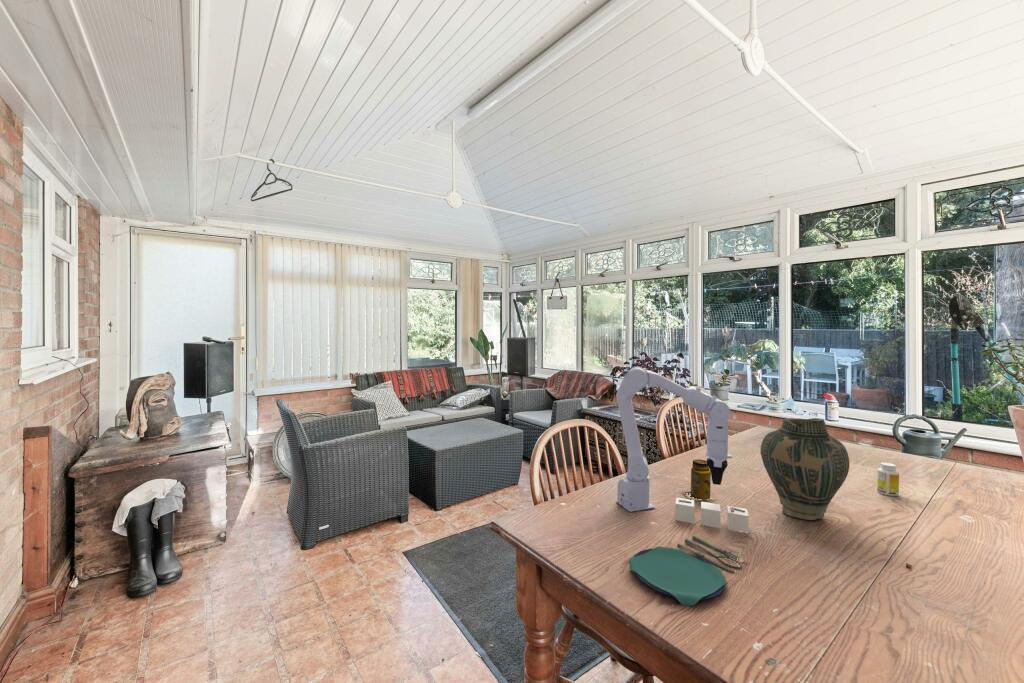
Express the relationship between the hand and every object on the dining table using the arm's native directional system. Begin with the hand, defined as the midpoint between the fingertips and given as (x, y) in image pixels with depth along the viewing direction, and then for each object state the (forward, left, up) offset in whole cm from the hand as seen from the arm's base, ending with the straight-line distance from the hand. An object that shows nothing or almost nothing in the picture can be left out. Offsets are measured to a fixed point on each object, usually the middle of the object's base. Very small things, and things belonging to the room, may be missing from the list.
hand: (716, 483), depth 126 cm
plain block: (-6, -4, -10) cm, 12 cm away
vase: (+25, -8, -10) cm, 28 cm away
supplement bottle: (+70, -5, -10) cm, 71 cm away
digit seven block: (-1, -9, -10) cm, 13 cm away
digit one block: (-11, +1, -10) cm, 15 cm away
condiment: (+5, +13, -10) cm, 17 cm away
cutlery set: (-29, -22, -10) cm, 38 cm away
